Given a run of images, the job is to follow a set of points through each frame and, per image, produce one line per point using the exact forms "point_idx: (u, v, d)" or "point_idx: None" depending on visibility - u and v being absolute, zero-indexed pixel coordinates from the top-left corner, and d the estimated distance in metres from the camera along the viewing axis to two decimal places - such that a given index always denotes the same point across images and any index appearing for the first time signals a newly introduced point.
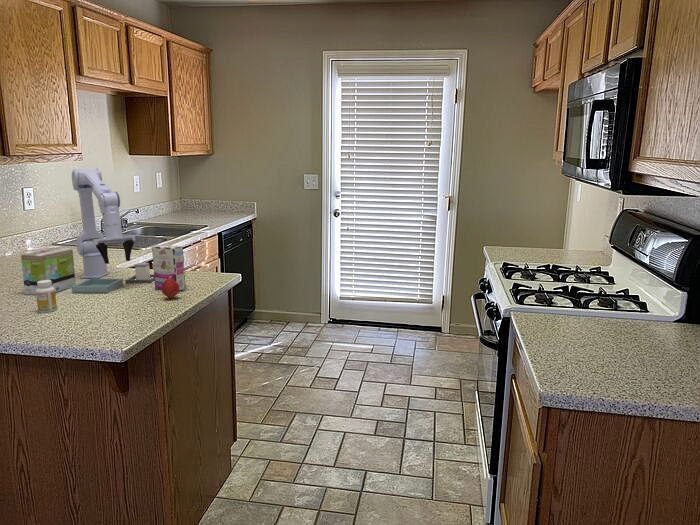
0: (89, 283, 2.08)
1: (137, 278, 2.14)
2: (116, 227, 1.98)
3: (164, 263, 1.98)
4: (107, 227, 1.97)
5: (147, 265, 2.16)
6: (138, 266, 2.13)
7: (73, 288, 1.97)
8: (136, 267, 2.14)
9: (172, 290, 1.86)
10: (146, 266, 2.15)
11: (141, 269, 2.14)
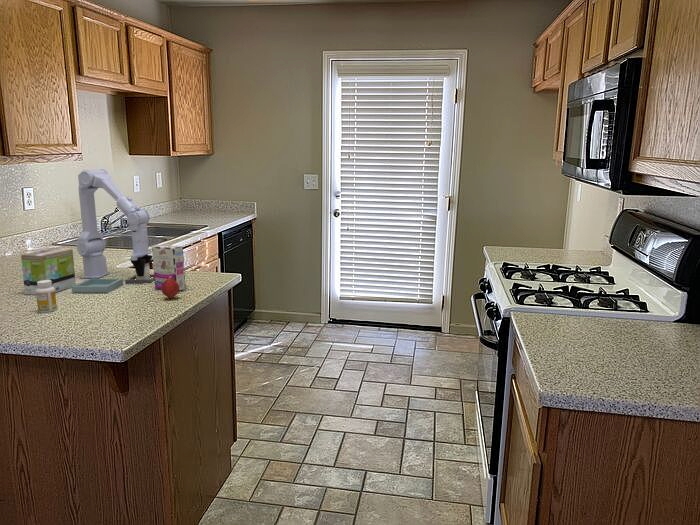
0: (89, 283, 2.08)
1: (137, 278, 2.14)
2: (147, 243, 2.14)
3: (164, 263, 1.98)
4: (141, 243, 2.11)
5: (147, 265, 2.16)
6: None
7: (73, 288, 1.97)
8: None
9: (172, 290, 1.86)
10: (146, 266, 2.15)
11: None
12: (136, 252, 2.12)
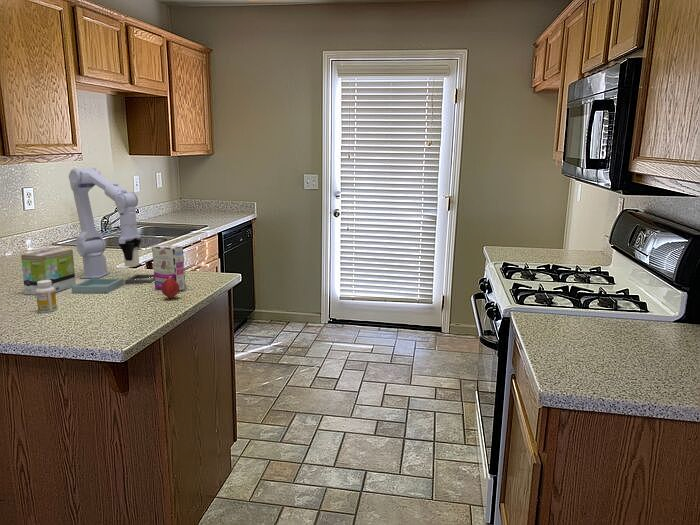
0: (89, 283, 2.08)
1: (126, 262, 2.10)
2: (136, 226, 2.10)
3: (164, 263, 1.98)
4: (129, 226, 2.07)
5: (136, 249, 2.11)
6: None
7: (73, 288, 1.97)
8: None
9: (172, 290, 1.86)
10: (135, 250, 2.10)
11: None
12: (124, 235, 2.07)
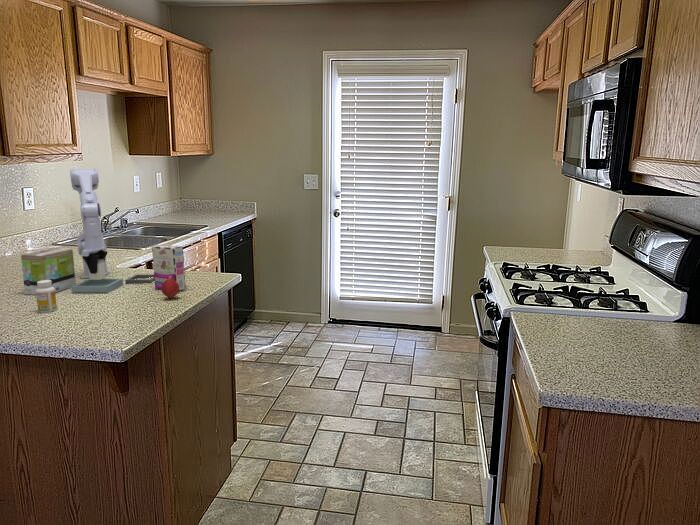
0: (89, 283, 2.08)
1: (90, 275, 2.01)
2: (101, 238, 2.00)
3: (164, 263, 1.98)
4: (94, 238, 1.98)
5: (101, 261, 2.02)
6: None
7: (73, 288, 1.97)
8: None
9: (172, 290, 1.86)
10: (100, 262, 2.01)
11: None
12: (88, 247, 1.98)
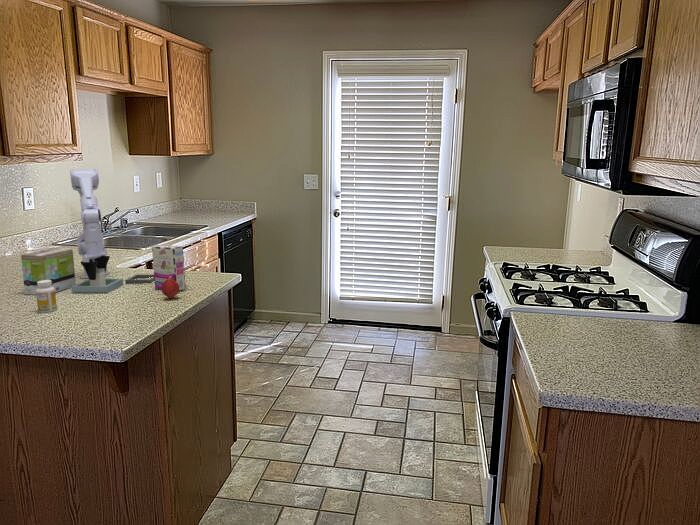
0: (89, 283, 2.08)
1: (91, 284, 2.01)
2: (101, 243, 2.01)
3: (164, 263, 1.98)
4: (94, 244, 1.98)
5: (102, 271, 2.03)
6: None
7: (73, 288, 1.97)
8: None
9: (172, 290, 1.86)
10: (101, 272, 2.02)
11: None
12: (89, 253, 1.98)
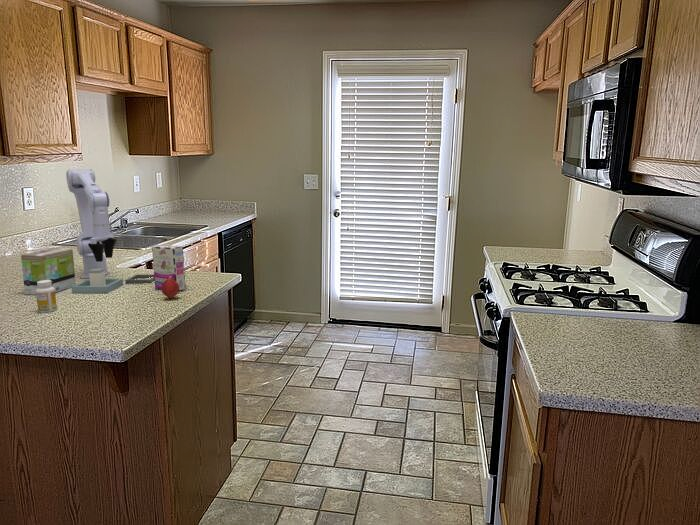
0: (89, 283, 2.08)
1: (91, 284, 2.01)
2: (108, 226, 2.07)
3: (164, 263, 1.98)
4: (101, 226, 2.04)
5: (102, 271, 2.03)
6: (92, 272, 2.00)
7: (73, 288, 1.97)
8: (90, 273, 2.01)
9: (172, 290, 1.86)
10: (101, 272, 2.02)
11: (95, 275, 2.01)
12: (96, 235, 2.05)
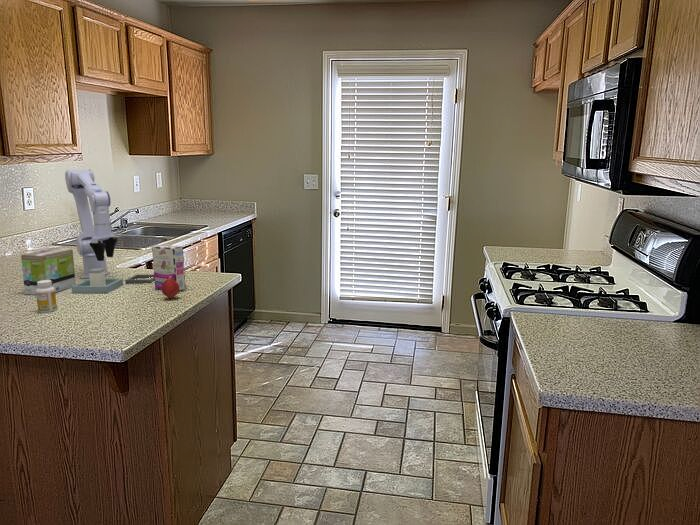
0: (89, 283, 2.08)
1: (91, 284, 2.01)
2: (109, 226, 2.08)
3: (164, 263, 1.98)
4: (103, 226, 2.05)
5: (102, 271, 2.03)
6: (92, 272, 2.00)
7: (73, 288, 1.97)
8: (90, 273, 2.01)
9: (172, 290, 1.86)
10: (101, 272, 2.02)
11: (95, 275, 2.01)
12: (97, 235, 2.06)
